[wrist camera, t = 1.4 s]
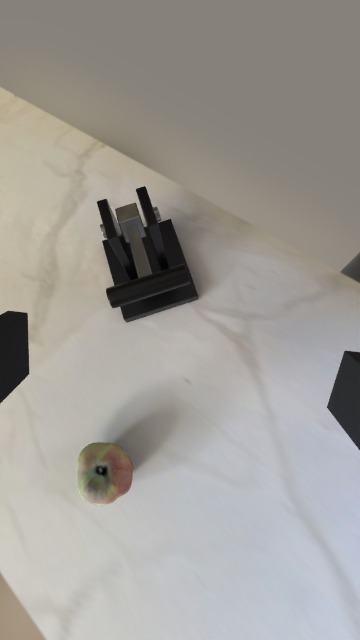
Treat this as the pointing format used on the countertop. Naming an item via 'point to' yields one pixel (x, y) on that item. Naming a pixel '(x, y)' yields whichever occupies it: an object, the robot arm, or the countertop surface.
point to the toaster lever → (142, 265)
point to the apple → (103, 473)
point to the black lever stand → (159, 252)
